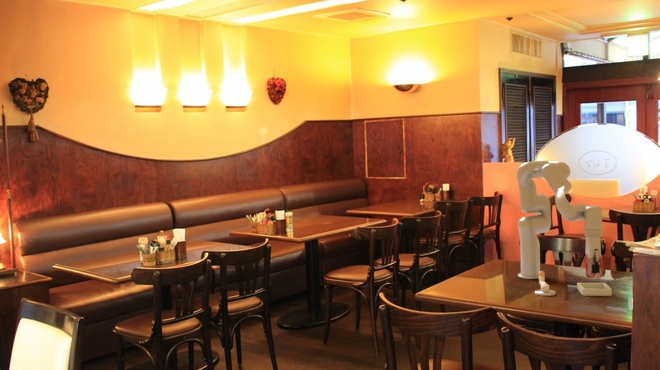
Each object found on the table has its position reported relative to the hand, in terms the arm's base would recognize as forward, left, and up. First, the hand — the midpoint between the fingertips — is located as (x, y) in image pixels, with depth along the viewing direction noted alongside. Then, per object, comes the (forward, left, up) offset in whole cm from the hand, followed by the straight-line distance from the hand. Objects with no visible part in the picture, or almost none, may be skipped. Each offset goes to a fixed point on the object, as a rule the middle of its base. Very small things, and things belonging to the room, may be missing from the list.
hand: (593, 270), depth 292 cm
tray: (0, 0, -10) cm, 10 cm away
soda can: (0, 0, -4) cm, 4 cm away
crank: (-2, -22, -9) cm, 24 cm away
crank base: (+3, -22, -10) cm, 24 cm away
